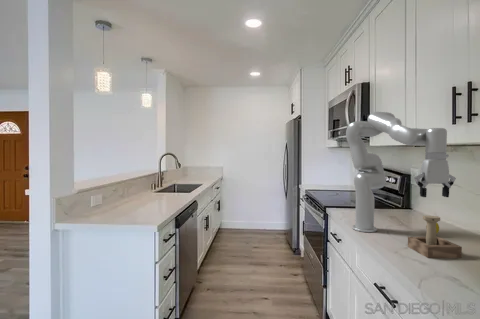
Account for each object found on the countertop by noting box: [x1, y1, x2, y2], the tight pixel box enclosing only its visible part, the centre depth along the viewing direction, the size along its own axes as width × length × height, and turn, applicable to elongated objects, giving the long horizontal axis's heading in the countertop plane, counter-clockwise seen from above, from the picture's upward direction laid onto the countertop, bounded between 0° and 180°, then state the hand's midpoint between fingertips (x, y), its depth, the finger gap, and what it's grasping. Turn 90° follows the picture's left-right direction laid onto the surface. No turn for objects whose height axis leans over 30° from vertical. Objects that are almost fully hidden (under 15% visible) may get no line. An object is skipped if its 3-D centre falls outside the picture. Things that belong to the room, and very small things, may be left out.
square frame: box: [407, 236, 463, 259], centre depth 128 cm, size 14×14×4 cm
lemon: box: [425, 222, 440, 234], centre depth 153 cm, size 6×6×8 cm
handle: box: [422, 215, 441, 245], centre depth 129 cm, size 5×6×15 cm
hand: (434, 196), depth 128 cm, fingers open, 9 cm apart
